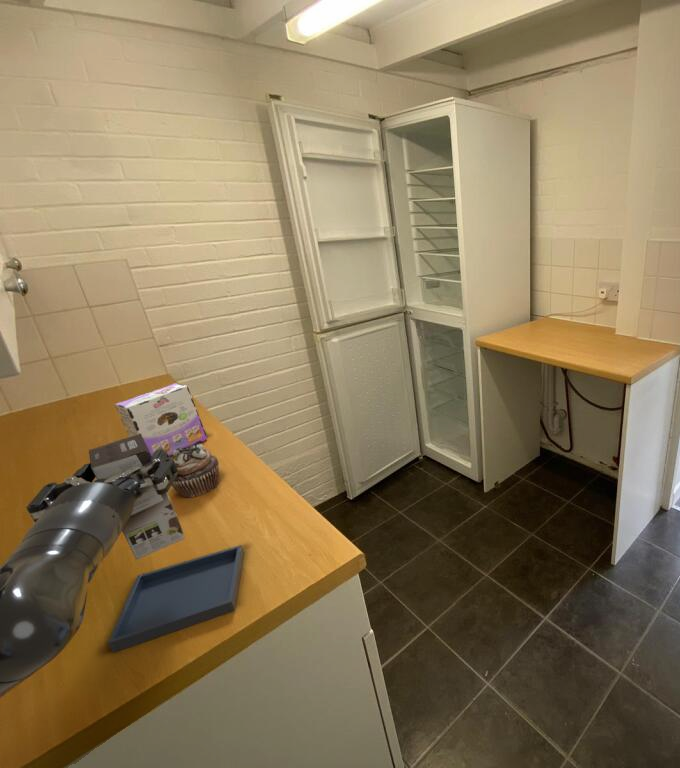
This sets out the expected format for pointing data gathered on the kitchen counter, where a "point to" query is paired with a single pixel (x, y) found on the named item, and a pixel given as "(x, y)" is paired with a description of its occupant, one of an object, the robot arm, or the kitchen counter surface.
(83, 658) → the kitchen counter surface
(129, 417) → the candy box
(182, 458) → the cupcake
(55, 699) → the kitchen counter surface
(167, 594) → the tray
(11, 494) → the kitchen counter surface
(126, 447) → the coffee box
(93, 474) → the robot arm
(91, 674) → the kitchen counter surface
